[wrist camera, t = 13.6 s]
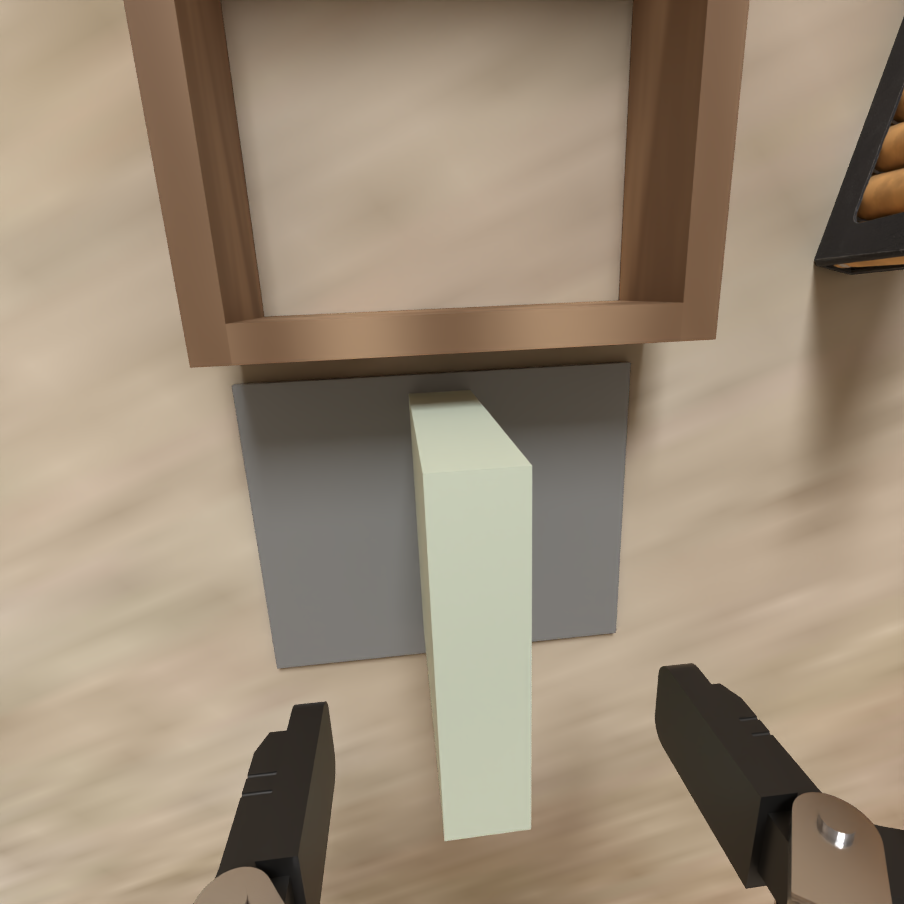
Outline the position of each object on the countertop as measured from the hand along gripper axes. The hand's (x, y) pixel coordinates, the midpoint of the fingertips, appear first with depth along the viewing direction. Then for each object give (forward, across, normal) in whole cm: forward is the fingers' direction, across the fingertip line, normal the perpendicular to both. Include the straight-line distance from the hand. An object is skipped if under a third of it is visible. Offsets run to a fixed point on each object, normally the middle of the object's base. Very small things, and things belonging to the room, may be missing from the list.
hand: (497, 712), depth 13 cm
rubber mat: (+11, 0, 0) cm, 11 cm away
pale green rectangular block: (+11, 0, 0) cm, 11 cm away
